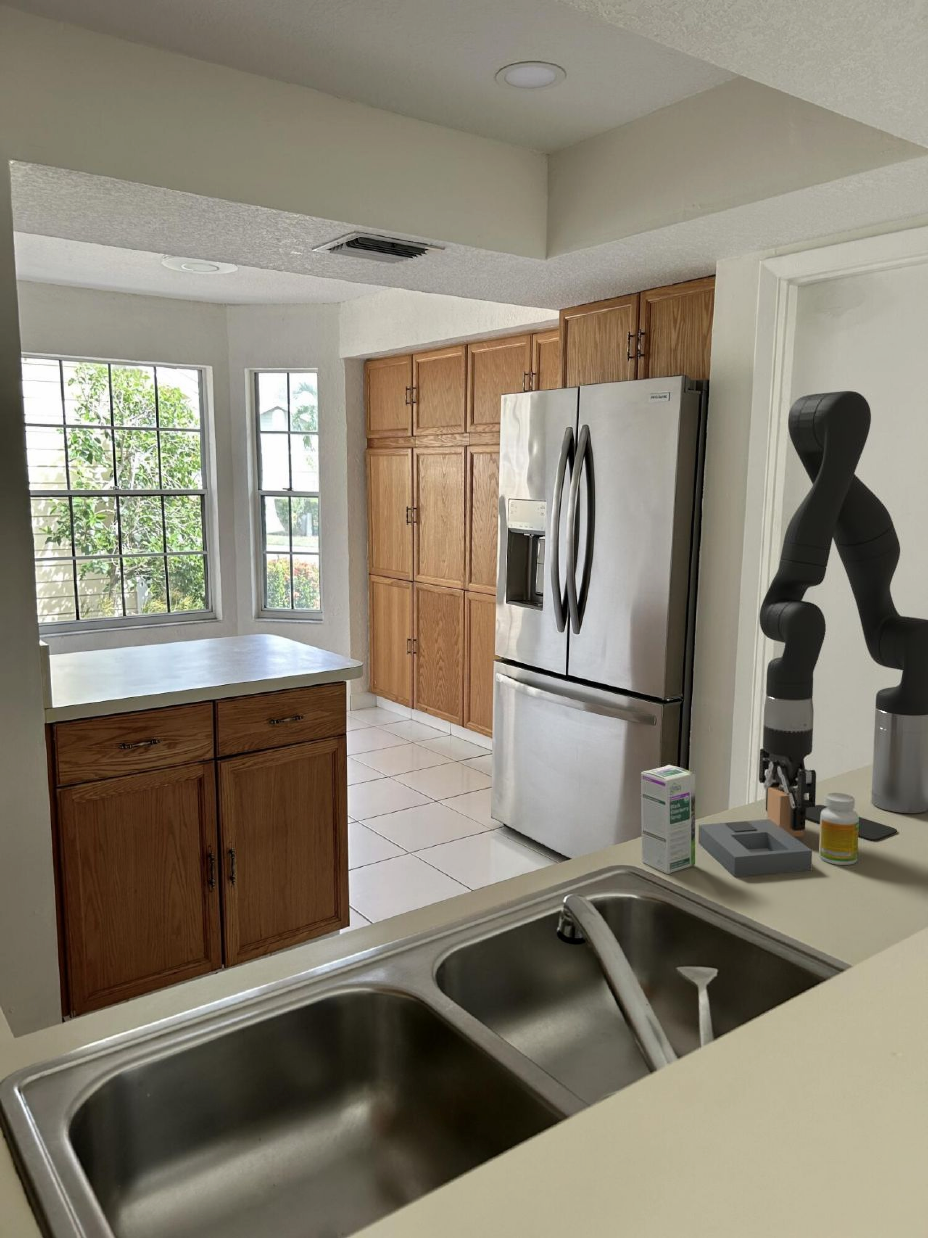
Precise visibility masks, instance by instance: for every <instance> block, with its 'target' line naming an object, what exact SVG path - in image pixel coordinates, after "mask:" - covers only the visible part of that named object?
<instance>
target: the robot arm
mask: <svg viewBox="0 0 928 1238" xmlns="http://www.w3.org/2000/svg"><path fill="white" fill-rule="evenodd" d="M787 421H788V422H787V426H788V427H787V428H788V433H789V437H790V441H791V442H792V446H793V448H794V450H795V451H796V454H797V456H798V458H799V460H800V462H801V464H802V465H803V468H804V469H805V472H806V474H807V475H808V478H809V480H810V481H811V483H812V486H811V488H810V490H809V491H808V492H807V494H806V496H805V497H804V499H803V500H802V501H801V503H800V505H799V506H798V507H797V509H796V510H795V512H794V514H793V515H792V517H791V519H790V521H789V523H788V525H787V528H786V531H785V535H784V539H783V544H782V548H781V554H780V558H779V559H780V560H779V565H778V569H777V571H776V573H775V575H774V577H773V579H772V580H771V583H770V586H769V587H768V589H767V591H766V594H765V596H764V599H763V601H762V604H761V606H760V610H759V616H758V617H759V626H760V629H761V631H762V634H763V635H765V637H767V638H768V639H770V640H772V641H776V642H780V643H782V644H784V648H783V652H782V656H781V657H775V658H773V659H771V660H770V661H769V663H767V670H766V684H765V686H766V689H765V693H766V695H765V701H764V705H763V707H764V708H763V727H762V728H763V731H762V736H763V737H762V748H760V749H759V763H758V764H759V765H758V768H759V769H758V781H759V783H760V784H763V789H764V790H765V791H766V792H765V811H766V812H767V802H768V788H771V787H783V788H784V792H785V794H787V795H788V796H789V799H790V803H791V806H792V807H791V816H790V828H791V829H792V830H794V831H800V830H805V829H806V821H807V820H806V809H807V808H812V807H815V805H816V797H817V796H816V795H817V793H816V792H817V791H816V790H817V772H816V770H815V769H806V766H805V758H806V757H807V756H809V755H811V754H812V752H813V742H814V741H813V740H814V739H813V737H814V736H813V735H814V718H815V717H814V714H815V711H814V701H813V698H814V697H813V696H814V695H813V694H814V670H815V668H816V665H817V663H818V661H819V657H820V653H821V650H822V647H823V643H824V641H825V637H826V631H827V629H826V627H827V626H826V619H825V615H824V613H823V610H822V609H821V608H820V607H819V606H818V605H816V604H815V603H813V602H809V601H806V600H805V601H804V600H803V599H804V596H805V594H806V592H807V590H808V589H809V588H813V587H816V586H820V585H821V584H822V583H823V582H824V580H825V576H826V573H827V567H828V563H829V558H830V553H831V549H832V543H833V542H834V544H835V548H836V550H837V552H838V553H837V554H838V555H839V558H840V560H841V562H842V566H843V569H844V570H845V573H846V577H847V579H848V582H849V584H850V588H851V591H852V594H853V597H854V600H855V604H856V607H857V611H858V612H857V613H858V617H859V619H860V625H861V628H862V633H863V637H864V641H865V645H866V647H867V650H868V653H869V655H870V658H871V659H873V661H874V663H876V664H877V665H879V666H881V667H885V668H887V669H893V670H899V671H901V672H902V674H901V678H900V683H899V684H898V685H896V686H889V687H885V688H883V689H880V690H878V691H877V692H876V695H875V696H876V697H875V713H874V731H873V732H874V734H873V735H874V737H873V756H872V774H871V775H872V779H871V780H872V781H871V799H870V800H871V803H872V804H873V805H874V806H875V807H878V808H879V809H881V810H882V809H883V810H886V811H889V812H895V813H902V814H919V813H925V812H927V811H928V619H927V618H926V619H925V618H921V617H920V618H919V617H912V616H905V615H901V614H900V613H899V612H898V611H897V609H896V606H895V604H894V600H893V597H892V593H891V585H892V582H893V581H892V580H893V577H894V574H895V572H896V570H897V567H898V564H899V560H900V556H901V545H900V541H899V537H898V534H897V530H896V529H895V525H894V522H893V519H892V517H891V515H890V511H889V510H888V509H887V507H886V506H885V505H884V503H883V502H882V501H881V500H880V499H879V498H878V496H877V495H876V494H875V493H874V492H873V491H872V490H871V489H869V486H867V485H866V484H865V483H864V481H862V480H861V479H860V478H859V477H858V476H857V475H856V474H855V472H856V470H857V467H858V465H859V461H860V460H861V459H860V458H861V456H862V454H863V451H864V448H865V445H866V443H867V439H868V436H869V434H870V429H871V423H872V413H871V407H870V405H869V402H868V400H867V398H865V396H864V395H862V394H861V393H859V392H857V391H853V390H843V391H833V392H832V391H831V392H824V393H814V394H808V395H803V396H801V397H799V398H798V399H796V400H795V401H794V402H793V404H792V406H791V408H790V410H789V412H788V419H787ZM792 787H794V788H792ZM795 794H797V800H796V797H795Z"/></svg>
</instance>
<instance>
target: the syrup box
mask: <svg viewBox="0 0 928 1238" xmlns="http://www.w3.org/2000/svg"><path fill="white" fill-rule="evenodd" d="M640 779H641V780H640V783H641V784H640V790H641V791H640V792H641V795H640V797H641V798H640V799H641V803H640V805H641V814H640V815H641V861H642V863H644V864H645V865H648V866H649V867H650V868H653V869H654V870H655V869H656V870H657V871H659V872H662V873H664V874H666V875H670V874H672V873H674V872H677V871H680V870H683V869H687V868H690V867H693V866H695V865H696V774H695V772H693V771H690V770H688V769H685V768H683V767H679V766H674V765H671V764H667V765H665V766H662V767H661V766H660V767H657V768H653V769H650V770H649V769H648V770H644V771H641V773H640Z"/></svg>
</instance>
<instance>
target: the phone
mask: <svg viewBox="0 0 928 1238" xmlns="http://www.w3.org/2000/svg"><path fill="white" fill-rule="evenodd" d="M826 807H827V806H826V805H825V804H815V807H812V808H807V809H806V821H809V822H810V823H814V824H817V825H820V815H821V811H822V810H823V809H824V808H826ZM897 833H898V829H897V828H895V827H892V826H889V825H886V824H882V823H879V822H876V821H874V820H870V819H867V818H865V817H861V816H859V831H858V839H862V840H865V841H867V842H878V841H881V840H884V839H886V838H889V837H892V836H894V835H897Z"/></svg>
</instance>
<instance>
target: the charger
mask: <svg viewBox="0 0 928 1238" xmlns="http://www.w3.org/2000/svg"><path fill="white" fill-rule="evenodd" d="M792 788H795V787H792ZM795 797H796V800H797V794H795ZM791 807H792V806H791V803H790V799H789V796H788V795H787V794H785V792H784V788H783V786H781V787H771V788H768V802H767V811H766V819H770V820H771V821H773V822H774V823H776V824H777V825H778V826H780V827H781V828H782V829H784V830H785V831H786V832H788V833H789V834H790V835H792V836H793V837H794V838H796V837H797V838H798V837H804V834H805V831H804V830H805V829H804V830H800V831H794V830H792V829H791V828H790V816H791Z"/></svg>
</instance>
